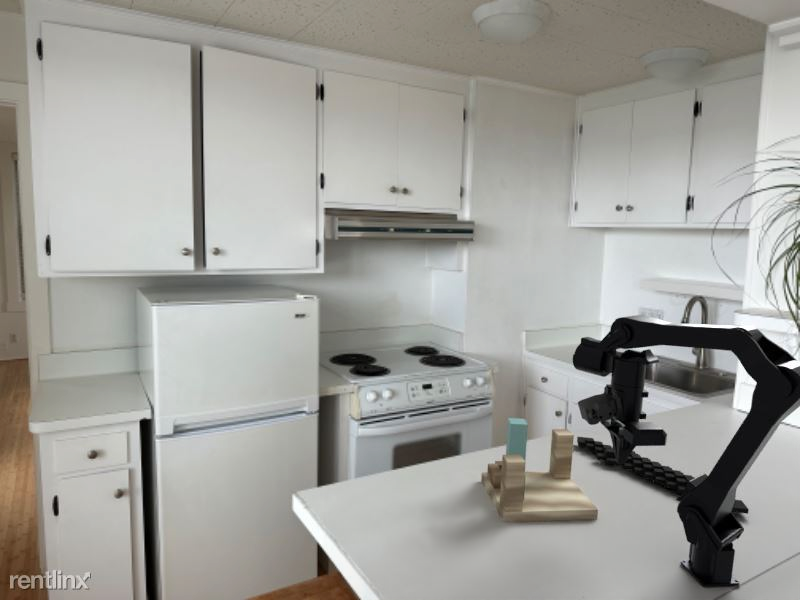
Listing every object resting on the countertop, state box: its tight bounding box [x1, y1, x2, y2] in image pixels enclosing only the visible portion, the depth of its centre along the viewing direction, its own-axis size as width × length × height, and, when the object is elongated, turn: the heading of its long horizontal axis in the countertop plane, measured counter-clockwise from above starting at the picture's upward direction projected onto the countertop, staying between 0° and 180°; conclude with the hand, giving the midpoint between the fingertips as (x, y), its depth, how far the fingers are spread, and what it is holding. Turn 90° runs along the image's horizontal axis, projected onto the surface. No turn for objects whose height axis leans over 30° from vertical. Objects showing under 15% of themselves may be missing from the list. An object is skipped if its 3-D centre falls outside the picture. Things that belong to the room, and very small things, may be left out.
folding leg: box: [505, 417, 529, 462], centre depth 116 cm, size 7×4×13 cm, turn 179°
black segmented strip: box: [576, 436, 749, 515], centre depth 130 cm, size 11×40×4 cm, turn 33°
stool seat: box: [480, 428, 599, 523], centre depth 116 cm, size 17×19×12 cm
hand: (620, 462), depth 105 cm, fingers closed
